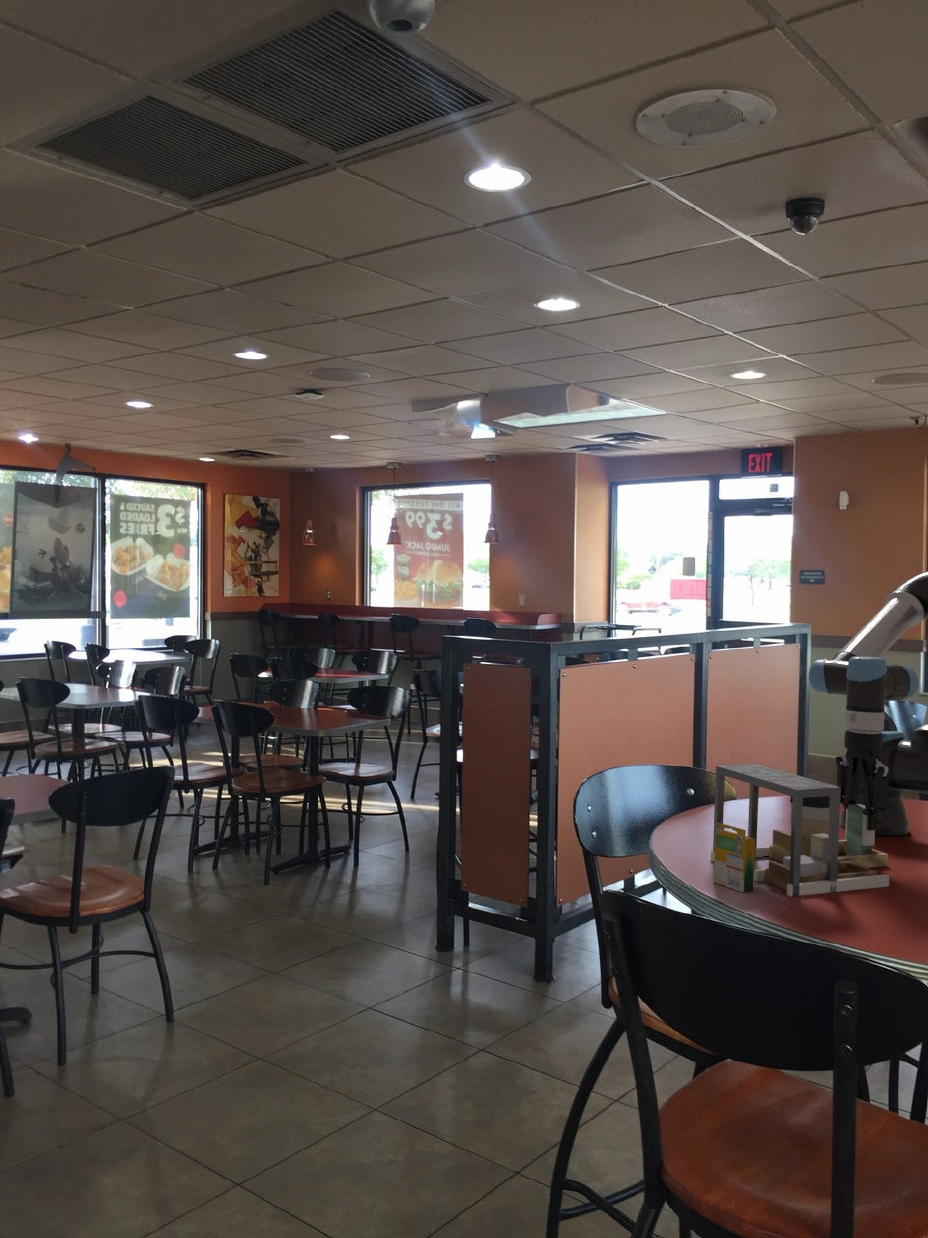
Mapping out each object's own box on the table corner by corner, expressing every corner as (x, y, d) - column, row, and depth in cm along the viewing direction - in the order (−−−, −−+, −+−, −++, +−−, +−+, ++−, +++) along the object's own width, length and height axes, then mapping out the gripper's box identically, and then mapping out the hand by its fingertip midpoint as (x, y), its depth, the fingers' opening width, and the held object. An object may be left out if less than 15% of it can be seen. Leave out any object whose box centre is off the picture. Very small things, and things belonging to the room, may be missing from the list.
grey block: (803, 880, 189) (804, 855, 189) (821, 888, 184) (822, 862, 184) (782, 883, 187) (783, 857, 187) (800, 890, 183) (801, 864, 183)
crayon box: (754, 891, 181) (756, 828, 181) (743, 893, 180) (745, 830, 179) (723, 880, 188) (726, 820, 187) (712, 882, 186) (715, 821, 186)
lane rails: (801, 852, 210) (801, 843, 210) (888, 886, 187) (889, 875, 187) (710, 860, 201) (710, 850, 201) (790, 896, 179) (790, 885, 178)
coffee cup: (837, 872, 196) (840, 797, 195) (789, 867, 198) (792, 793, 197) (830, 860, 204) (833, 788, 204) (785, 856, 206) (788, 785, 206)
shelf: (753, 856, 205) (756, 763, 205) (836, 891, 182) (840, 787, 182) (712, 860, 202) (716, 765, 201) (792, 896, 179) (796, 789, 178)
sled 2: (848, 873, 195) (850, 828, 194) (877, 884, 188) (879, 837, 187) (765, 881, 188) (766, 834, 187) (791, 893, 180) (793, 844, 180)
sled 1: (845, 850, 212) (847, 800, 212) (887, 866, 201) (890, 812, 200) (769, 857, 205) (771, 804, 204) (808, 873, 194) (810, 818, 193)
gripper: (821, 725, 211) (816, 833, 212) (880, 737, 195) (875, 854, 196) (848, 724, 214) (844, 831, 215) (909, 736, 198) (904, 851, 199)
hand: (859, 842), depth 206 cm, fingers closed on sled 1, 4 cm apart
